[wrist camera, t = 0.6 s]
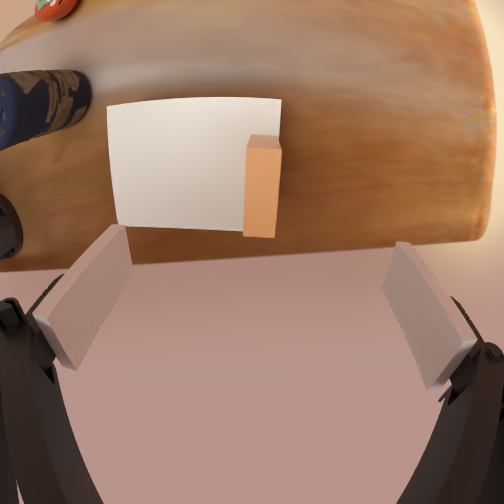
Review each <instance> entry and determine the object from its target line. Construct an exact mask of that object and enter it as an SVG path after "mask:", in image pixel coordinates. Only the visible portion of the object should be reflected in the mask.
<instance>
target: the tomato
mask: <svg viewBox="0 0 504 504" xmlns="http://www.w3.org/2000/svg"><path fill="white" fill-rule="evenodd" d="M76 3H77V0H37V1H36V3H35V4H36V5H35V16H36V17H37V18H38V19H39V20H40V21H44V22H50V21H54V20H58V19H60V18H62V17H64V16H66V15H67V14H68V13H70V12H71V11H72V10H73V9H74V7H75V6H76Z"/></svg>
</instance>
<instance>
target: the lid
mask: <svg viewBox="0 0 504 504" xmlns="http://www.w3.org/2000/svg"><path fill="white" fill-rule="evenodd" d="M280 115H281V99H268V98H248V97H196V98H176V99H163V100H152V101H142V102H134V103H126V104H119V105H113V106H107V126H108V144H109V157H110V167H111V177H112V185H113V193H114V201H115V208H116V214H117V220H118V225H125V226H136V227H163V228H186V229H208V230H227V231H243V236H249V237H266V238H275V228H276V217H277V206H278V194H279V182H280V170H281V157H282V148H281V146H280V143H279V130H280Z"/></svg>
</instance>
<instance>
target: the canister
mask: <svg viewBox="0 0 504 504" xmlns="http://www.w3.org/2000/svg"><path fill="white" fill-rule="evenodd" d="M88 100H89V88H88V84H87V82H86V80H85V78H84V77H83V76H82V75H81V74H80V73H79V72H77V71H73V70H45V71H43V70H34V71H22V72H12V73H4V74H0V151H1V150H4V149H6V148H8V147H11V146H13V145H16V144H18V143H21V142H25V141H29V140H30V139H32V138H37V137H40V136H43V135H46V134H49V133H52V132H55V131H58V130H61V129H64V128H68V127H70V126H72V125H73V124H75V123H76V122H77V121H78V120H79V119H80V118H81V117H82V116H83V114H84V112H85V110H86V107H87V104H88Z"/></svg>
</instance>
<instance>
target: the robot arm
mask: <svg viewBox="0 0 504 504" xmlns="http://www.w3.org/2000/svg"><path fill="white" fill-rule="evenodd" d="M22 242H23V236H22V229H21V225H20V221H19V219H18V216H17V214H16V212H15V210H14V208H13V206H12V205H11V204H10V202H9V201H8V200H7V199H6V198H5V197H4V196H3V195H1V194H0V262H3V261H5V260H8V259H11V258H12V257H14V256H15V255H16V254H17V253H18V252H19V251H20V249H21V247H22ZM133 273H134V271H133V266H132V261H131V256H130V251H129V245H128V240H127V234H126V228H125V225H115V224H112V225H111V226H110V227H109V228H108V229H107V230H106V231H105V232H104V233H103V234H102V235H101V236H100V237H99V238H98V239H97V240H96V241H95V242H94V243H93V244H92V245H91V246H90V247H89V248H88V249H87V250H86V251H85V252H84V253H83V254H82V255H81V256H80V258H79V259H78V260H77V261H76V262H75V263H74V264H73V265H72V266H71V267H70V268H69V270H68V271H67V272H66V273H65V274H62V275H61V276H59V277H58V278H56V279H55V280H54V281H53V282H52V283H51V284H50V285H49V286H48V289H46V290H45V291H44V292H43V294H42V295H41V296H40V297H39V299H37V301H36V302H35V303H34V304H33V306H32V307H31V308H30V310H29V311H28V312H27V314H26V315H25V314H24V312H23V310H22V308H21V306H20V304H19V302H18V300H17V299H15V298H6V299H4V300H2V301H0V504H19V499H18V491H17V484H18V487H19V490H20V493H21V496H22V499H23V502H24V504H104V503H103V501H102V500H101V498H100V496H99V494H98V492H97V490H96V488H95V485H94V483H93V482H92V479H91V477H90V475H89V473H88V470H87V468H86V465H85V463H84V461H83V458H82V456H81V453H80V451H79V448H78V446H77V443H76V440H75V437H74V434H73V431H72V428H71V425H70V422H69V419H68V416H67V412H66V408H65V405H64V401H63V397H62V394H61V390H60V386H59V381H58V377H57V372H56V368H55V366H54V364H53V361H54V359H55V357H57V359H58V360H59V362H60V363H61V365H62V366H64V367H67V368H70V369H73V370H76V371H77V369H78V367H79V365H80V364H81V362H82V360H83V358H84V356H85V354H86V352H87V350H88V349H89V347H90V345H91V343H92V341H93V339H94V338H95V336H96V334H97V332H98V330H99V329H100V327H101V325H102V323H103V322H104V320H105V318H106V317H107V315H108V313H109V311H110V310H111V308H112V306H113V305H114V303H115V302H116V300H117V298H118V297H119V295H120V293H121V292H122V290H123V289H124V287H125V285H126V284H127V282H128V281H129V279H130V277H131V276H132V274H133ZM382 289H383V291H384V293H385V295H386V297H387V299H388V301H389V302H390V305H391V307H392V309H393V311H394V313H395V315H396V318H397V319H398V322H399V324H400V326H401V328H402V331H403V333H404V335H405V337H406V340H407V342H408V344H409V347H410V349H411V351H412V354H413V356H414V358H415V361H416V363H417V366H418V368H419V371H420V374H421V376H422V379H423V381H424V384H425V387H426V389H427V391H428V390H433V389H438V388H441V387H442V386H443V385H444V384H445V383H446V382H447V380H448V379H450V381H451V383H452V385H451V386H450V387H449V388H448V389H447V391H446V392H445V393H444V394H443V395H442V396H441V397H440V399H439V400H438V401H439V402H441V401H442V400H443V398H445V400H444V403H443V406H442V409H441V412H440V414H439V417H438V420H437V422H436V425H435V428H434V430H433V432H432V435H431V437H430V440H429V442H428V445H427V446H426V449H425V451H424V453H423V455H422V457H421V460H420V462H419V464H418V466H417V468H416V469H415V471H414V473H413V475H412V477H411V479H410V481H409V483H408V484H407V486H406V488H405V490H404V492H403V493H402V495H401V497H400V498H399V500H398V502H397V503H396V504H504V354H503V352H502V350H500V348H499V347H498V346H497V345H495V344H493V343H490V342H486V343H485V342H484V341H483V339H482V337H481V336H480V334H479V332H478V331H477V329H476V327H475V326H474V324H473V323H472V321H471V320H469V319H470V318H469V317H468V315H467V314H466V313H465V311H464V309H463V308H462V306H461V305H460V303H458V301H456V300H455V299H454V298H453V297H452V296H449V294H448V293H447V291H446V290H445V289H444V287H443V286H442V284H441V283H440V281H439V280H438V279H437V277H436V276H435V275H434V273H433V272H432V271H431V269H430V268H429V267H428V265H427V264H426V263H425V262H424V260H423V259H422V258H421V256H420V255H419V254H418V253H417V252H416V250H415V249H414V248H413V247H412V245H411V244H410V243H408V242H396V246H395V249H394V252H393V255H392V259H391V262H390V265H389V268H388V271H387V274H386V277H385V279H384V282H383V285H382ZM16 480H17V483H16Z"/></svg>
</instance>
